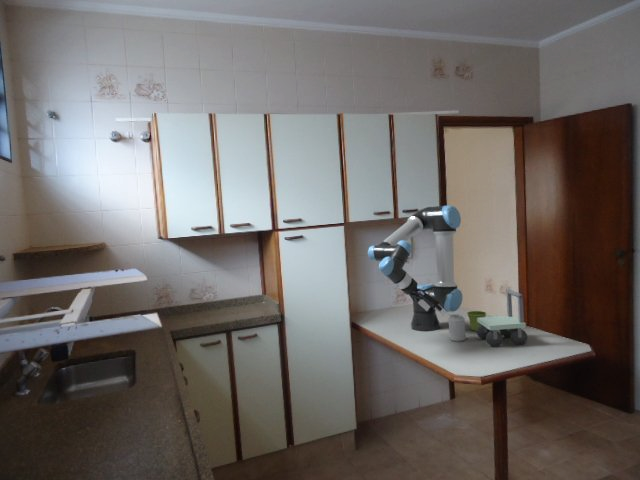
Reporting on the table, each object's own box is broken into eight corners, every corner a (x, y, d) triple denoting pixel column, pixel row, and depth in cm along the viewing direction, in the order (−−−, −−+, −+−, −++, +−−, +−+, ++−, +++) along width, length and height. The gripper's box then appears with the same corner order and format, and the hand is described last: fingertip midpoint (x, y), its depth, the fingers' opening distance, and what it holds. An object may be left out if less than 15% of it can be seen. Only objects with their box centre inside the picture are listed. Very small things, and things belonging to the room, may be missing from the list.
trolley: (476, 338, 220) (473, 291, 219) (513, 335, 221) (511, 288, 219) (488, 348, 204) (486, 297, 203) (528, 345, 205) (526, 294, 203)
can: (466, 338, 222) (465, 313, 221) (464, 342, 215) (463, 317, 215) (450, 337, 225) (449, 313, 225) (448, 341, 219) (446, 316, 218)
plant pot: (484, 326, 240) (484, 310, 239) (489, 331, 230) (488, 314, 230) (466, 327, 241) (465, 311, 240) (470, 332, 231) (469, 315, 231)
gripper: (388, 286, 222) (417, 312, 227) (415, 293, 198) (447, 322, 203) (397, 274, 223) (426, 300, 229) (425, 280, 199) (456, 309, 205)
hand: (436, 311), depth 216 cm, fingers open, 13 cm apart
